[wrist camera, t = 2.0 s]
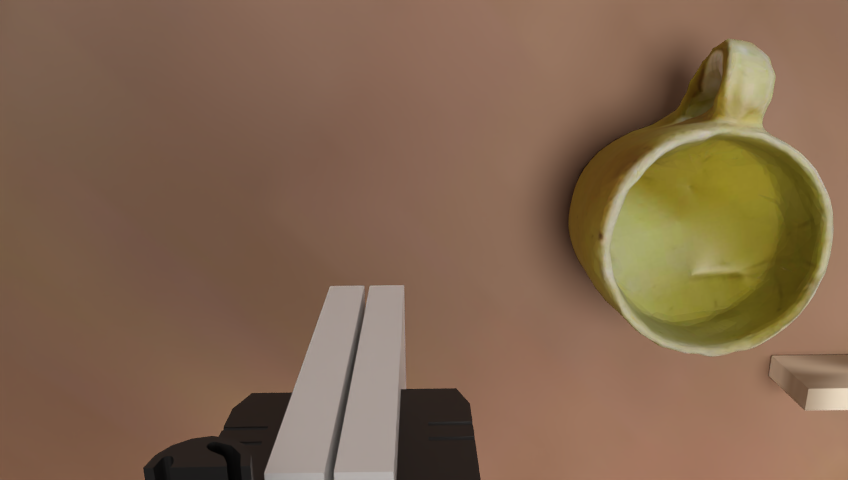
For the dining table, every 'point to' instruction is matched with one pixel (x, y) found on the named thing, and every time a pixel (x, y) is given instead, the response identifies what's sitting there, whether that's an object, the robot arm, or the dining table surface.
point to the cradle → (813, 380)
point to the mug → (706, 216)
